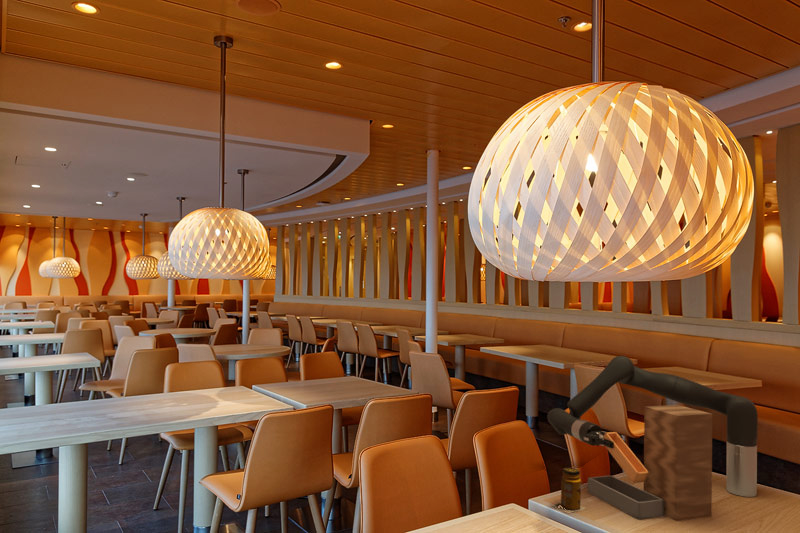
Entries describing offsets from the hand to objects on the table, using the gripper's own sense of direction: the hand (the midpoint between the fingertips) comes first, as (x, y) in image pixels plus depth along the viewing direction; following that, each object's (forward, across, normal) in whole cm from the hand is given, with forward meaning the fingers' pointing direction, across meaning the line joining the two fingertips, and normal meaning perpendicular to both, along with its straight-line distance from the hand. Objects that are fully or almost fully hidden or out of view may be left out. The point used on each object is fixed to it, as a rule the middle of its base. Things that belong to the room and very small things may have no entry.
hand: (619, 444), depth 193 cm
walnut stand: (+12, +13, +18) cm, 26 cm away
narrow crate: (+2, 0, +5) cm, 5 cm away
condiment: (+1, -20, +19) cm, 28 cm away
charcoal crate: (+3, 0, +18) cm, 19 cm away
